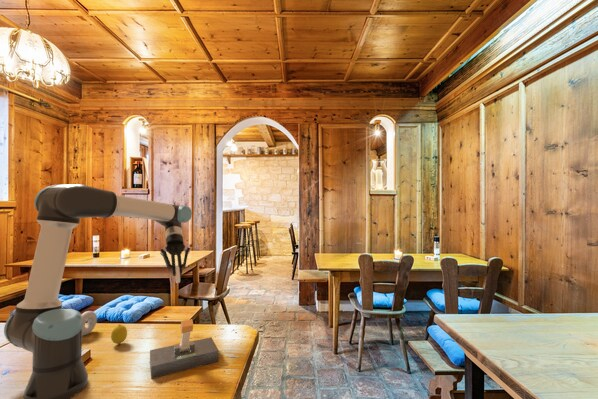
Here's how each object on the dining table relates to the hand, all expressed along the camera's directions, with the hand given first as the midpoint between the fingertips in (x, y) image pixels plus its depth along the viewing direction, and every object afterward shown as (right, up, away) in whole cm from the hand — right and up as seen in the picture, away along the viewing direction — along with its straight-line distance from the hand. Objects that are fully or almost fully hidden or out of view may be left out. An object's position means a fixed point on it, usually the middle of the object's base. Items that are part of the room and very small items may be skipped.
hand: (178, 281), depth 125 cm
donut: (-41, -24, +3) cm, 48 cm away
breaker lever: (+10, -20, -17) cm, 28 cm away
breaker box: (+10, -24, -18) cm, 32 cm away
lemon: (-22, -24, -6) cm, 33 cm away
